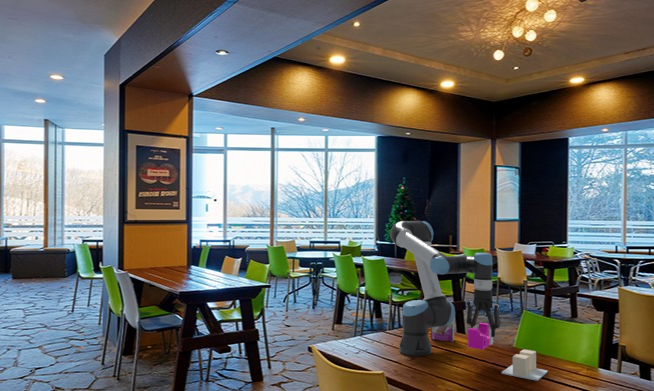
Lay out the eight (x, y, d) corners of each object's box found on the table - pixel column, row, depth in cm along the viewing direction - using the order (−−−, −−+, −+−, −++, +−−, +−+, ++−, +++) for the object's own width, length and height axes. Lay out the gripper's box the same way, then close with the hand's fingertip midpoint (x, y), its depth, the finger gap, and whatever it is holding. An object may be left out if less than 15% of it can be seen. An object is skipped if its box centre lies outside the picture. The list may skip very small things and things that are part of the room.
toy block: (483, 349, 204) (483, 331, 204) (468, 347, 208) (468, 328, 208) (494, 341, 216) (494, 324, 216) (480, 339, 220) (480, 322, 220)
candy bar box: (430, 340, 256) (430, 308, 256) (433, 337, 260) (432, 306, 261) (452, 342, 251) (452, 309, 252) (454, 340, 256) (454, 308, 256)
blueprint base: (501, 373, 201) (501, 354, 201) (513, 365, 212) (512, 347, 212) (537, 380, 192) (537, 360, 192) (547, 372, 203) (547, 353, 203)
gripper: (458, 287, 217) (458, 340, 216) (502, 292, 205) (502, 348, 204) (465, 285, 223) (465, 337, 222) (508, 290, 211) (508, 345, 210)
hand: (482, 342), depth 213 cm, fingers closed on toy block, 6 cm apart
